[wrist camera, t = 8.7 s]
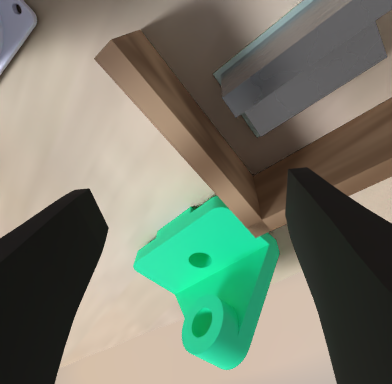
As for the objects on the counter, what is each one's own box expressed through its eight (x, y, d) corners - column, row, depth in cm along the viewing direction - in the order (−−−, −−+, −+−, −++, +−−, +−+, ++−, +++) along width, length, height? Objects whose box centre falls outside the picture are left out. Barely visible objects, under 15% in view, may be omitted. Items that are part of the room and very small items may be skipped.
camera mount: (221, 183, 22) (224, 294, 13) (274, 231, 25) (303, 348, 16) (135, 246, 27) (100, 353, 19) (187, 279, 30) (176, 385, 22)
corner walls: (126, 44, 16) (94, 58, 12) (367, -211, 10) (477, -365, 6) (248, 193, 22) (255, 238, 18) (441, 88, 16) (520, 118, 12)
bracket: (350, -30, 13) (411, -45, 9) (380, 54, 15) (440, 73, 11) (220, 74, 16) (222, 98, 12) (259, 131, 18) (271, 168, 14)
